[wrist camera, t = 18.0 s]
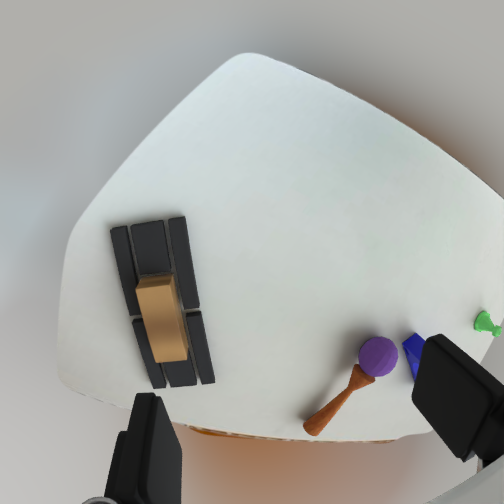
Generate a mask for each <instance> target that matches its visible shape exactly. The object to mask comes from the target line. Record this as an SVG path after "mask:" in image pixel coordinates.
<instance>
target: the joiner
mask: <svg viewBox="0 0 504 504" xmlns="http://www.w3.org/2000/svg"><path fill="white" fill-rule="evenodd" d="M135 290H136V294H137V298H138V302H139V306H140V310H141V313H142V317H143V321H144V324H145V328H146V332H147V335H148V339H149V342H150V345H151V349H152V352H153V355H154V358H155V362H156V363H160V362H171V361H181V360H187V354H188V339H187V335H186V330H185V326H184V321H183V317H182V312H181V308H180V303H179V298H178V293H177V288H176V283H175V278H174V273H168V274H161V275H153V276H145V277H142V278H141V280H140V282H139V284H138V285H137V287H136V289H135Z"/></svg>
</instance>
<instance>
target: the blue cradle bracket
mask: <svg viewBox="0 0 504 504" xmlns="http://www.w3.org/2000/svg"><path fill="white" fill-rule="evenodd" d="M425 342H426V341H425V340H424V339H422V338H421V337H420V336H419V335H418V334H417V333H415V334H414V335H413V336H411V337H410V338H409V339H407V340H406V341H405V342H403V343H402V345H403V348H404V350H405V353H406V356H407V359H408V362H409V365H410V368H411V371H412V375H413V378H414V381H415V380H416V376H417V371H418V367H419V362H420V358H421V353H422V348H423V344H424V343H425Z"/></svg>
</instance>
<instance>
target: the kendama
mask: <svg viewBox="0 0 504 504" xmlns="http://www.w3.org/2000/svg"><path fill="white" fill-rule="evenodd" d="M358 357H359V364H355V365H354V367H353V371H352V374H351V378H350V381H349V384H348V387H347V388H346V389H345V390H344V391H342V392H341V393H340V394H339V395H338V396H337V397H335V398H334V399H333V400H332V401H331V402H329V403H328V404H327V405H326V406H325V407H323V408H322V409H321V410H320V411H318V412H317V413H316V414H315V415H313V416H312V417H311V418H310V419H308V420H307V421H306V422H304V423H303V427H304V429H305V431H306V432H307V433H308V434H310V435H312V436H317V435H318V434H319V433H320V432H321V431H322V430H323V428H324V427H325V426H326V425H327V424H328V422H329V421H330V420H331V419H332V417H333V416H334V415H335V414H336V412H337V411H338V410H339V409H340V407H341V406H342V405H343V403H344V402H345V401H346V400H347V398H348V397H349V396H350V394H351V393H352V392H353V391H354V390H357V389H359V388H362V387H364V386H366V385H369V384H371V383H373V382H374V381H375V378H374V377H379V376H384V375H386V374H388V373H390V372H391V371H392V369H393V368H394V367H395V365H396V362H397V359H398V350H397V348H396V346H395V344H394V343H393V342H392V341H391V340H390V339H387V338H384V337H374V338H372V339H370V340H368V341H367V342H366V343H365V344H364V345H363V346H362V348H361V349H360V352H359V356H358Z"/></svg>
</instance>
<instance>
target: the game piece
mask: <svg viewBox="0 0 504 504" xmlns="http://www.w3.org/2000/svg"><path fill="white" fill-rule="evenodd" d="M475 330H477V331H479V332H481V331H490V332H492V335H493V336H495V337H498V336H499V335H500V334H501V327H500V326H497V325H496V326H494V325H493V323H492V321H491V319H490V314H489V313H487V312H485V311H483V312H482V313H481V314H479V315H478V317H477V319H476V321H475Z"/></svg>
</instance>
